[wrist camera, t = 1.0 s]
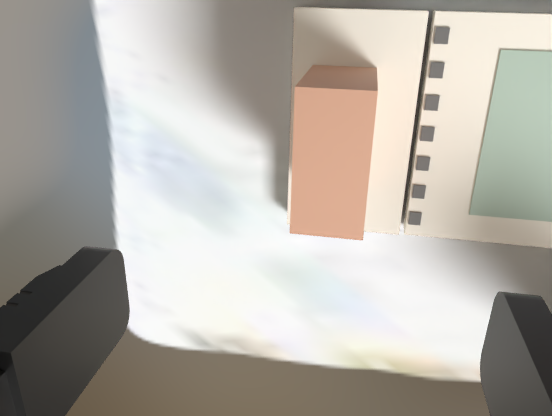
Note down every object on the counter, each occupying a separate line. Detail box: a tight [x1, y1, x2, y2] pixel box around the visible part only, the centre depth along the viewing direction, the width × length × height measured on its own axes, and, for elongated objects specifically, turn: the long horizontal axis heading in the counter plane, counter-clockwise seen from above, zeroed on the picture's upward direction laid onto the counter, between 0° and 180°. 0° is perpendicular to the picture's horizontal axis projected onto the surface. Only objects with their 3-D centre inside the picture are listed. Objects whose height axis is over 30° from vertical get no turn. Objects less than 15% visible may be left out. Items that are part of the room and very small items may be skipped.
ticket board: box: [403, 10, 552, 248], centre depth 24 cm, size 12×11×1 cm
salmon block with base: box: [287, 7, 429, 240], centre depth 22 cm, size 6×11×7 cm, turn 179°
